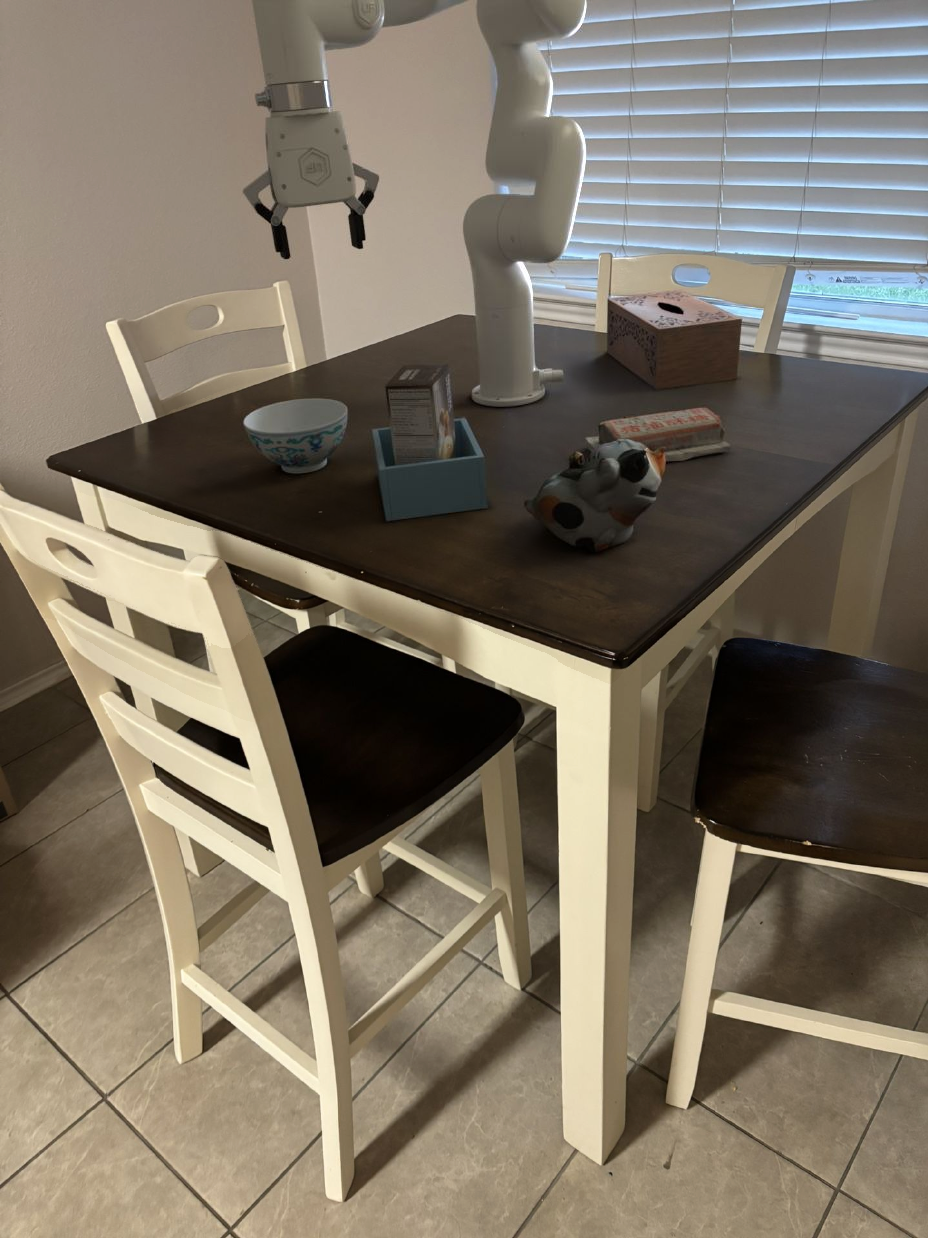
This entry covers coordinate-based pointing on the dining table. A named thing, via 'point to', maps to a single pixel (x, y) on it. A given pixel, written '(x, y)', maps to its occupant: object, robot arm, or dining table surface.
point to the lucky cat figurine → (600, 494)
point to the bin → (431, 478)
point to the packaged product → (668, 433)
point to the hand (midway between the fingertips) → (322, 252)
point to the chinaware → (298, 432)
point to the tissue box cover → (673, 338)
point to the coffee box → (421, 414)
